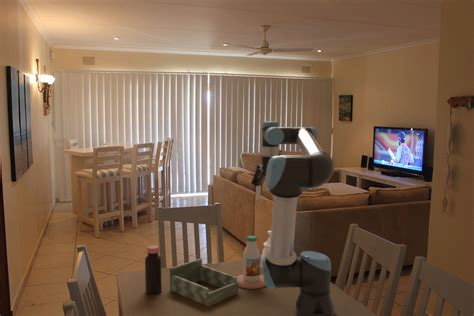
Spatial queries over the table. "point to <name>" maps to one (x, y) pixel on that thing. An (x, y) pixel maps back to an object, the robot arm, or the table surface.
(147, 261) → the vinegar
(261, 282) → the pink round disc
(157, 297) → the table surface
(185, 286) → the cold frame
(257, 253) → the milk bottle
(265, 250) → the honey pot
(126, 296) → the table surface
